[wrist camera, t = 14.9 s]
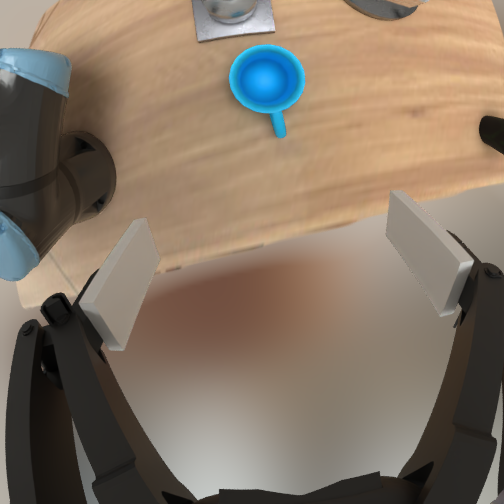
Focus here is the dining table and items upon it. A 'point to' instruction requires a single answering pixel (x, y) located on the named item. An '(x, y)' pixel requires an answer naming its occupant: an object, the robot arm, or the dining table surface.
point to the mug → (267, 81)
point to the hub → (381, 9)
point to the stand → (232, 18)
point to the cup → (492, 132)
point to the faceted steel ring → (408, 2)
